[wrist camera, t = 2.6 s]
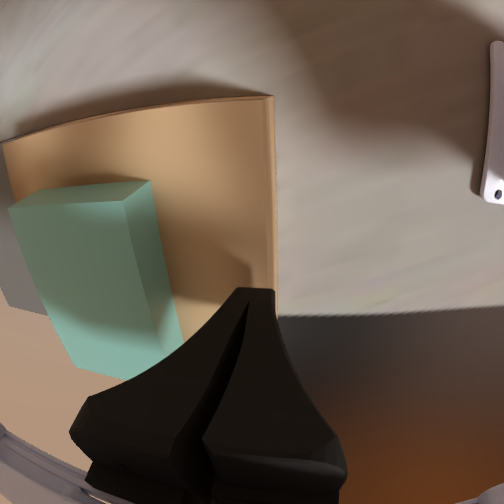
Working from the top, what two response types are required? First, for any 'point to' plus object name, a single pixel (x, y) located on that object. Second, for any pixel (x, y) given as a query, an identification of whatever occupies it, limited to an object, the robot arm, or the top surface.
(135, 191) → the mint green block
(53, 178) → the wooden block
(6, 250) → the mat
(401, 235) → the top surface
